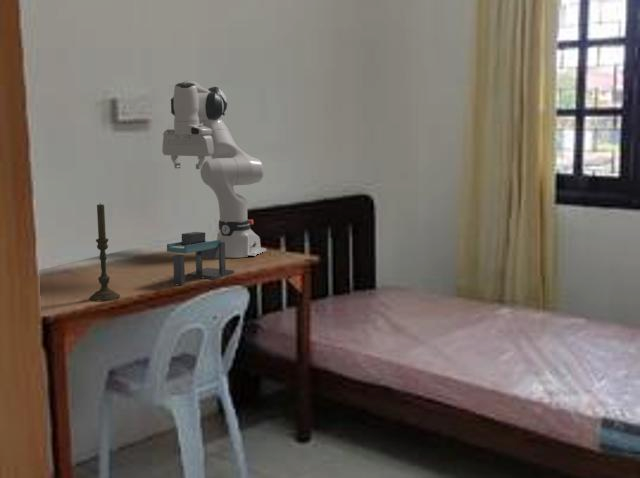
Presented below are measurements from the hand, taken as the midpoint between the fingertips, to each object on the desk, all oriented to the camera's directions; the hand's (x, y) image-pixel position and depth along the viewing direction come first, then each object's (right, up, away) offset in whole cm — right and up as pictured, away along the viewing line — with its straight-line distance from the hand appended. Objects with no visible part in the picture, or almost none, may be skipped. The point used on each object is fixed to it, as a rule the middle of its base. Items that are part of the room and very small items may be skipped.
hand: (188, 168), depth 288 cm
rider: (+2, -25, -14) cm, 29 cm away
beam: (+5, -32, -8) cm, 34 cm away
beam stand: (+5, -39, -6) cm, 39 cm away
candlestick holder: (-20, -44, -35) cm, 59 cm away
